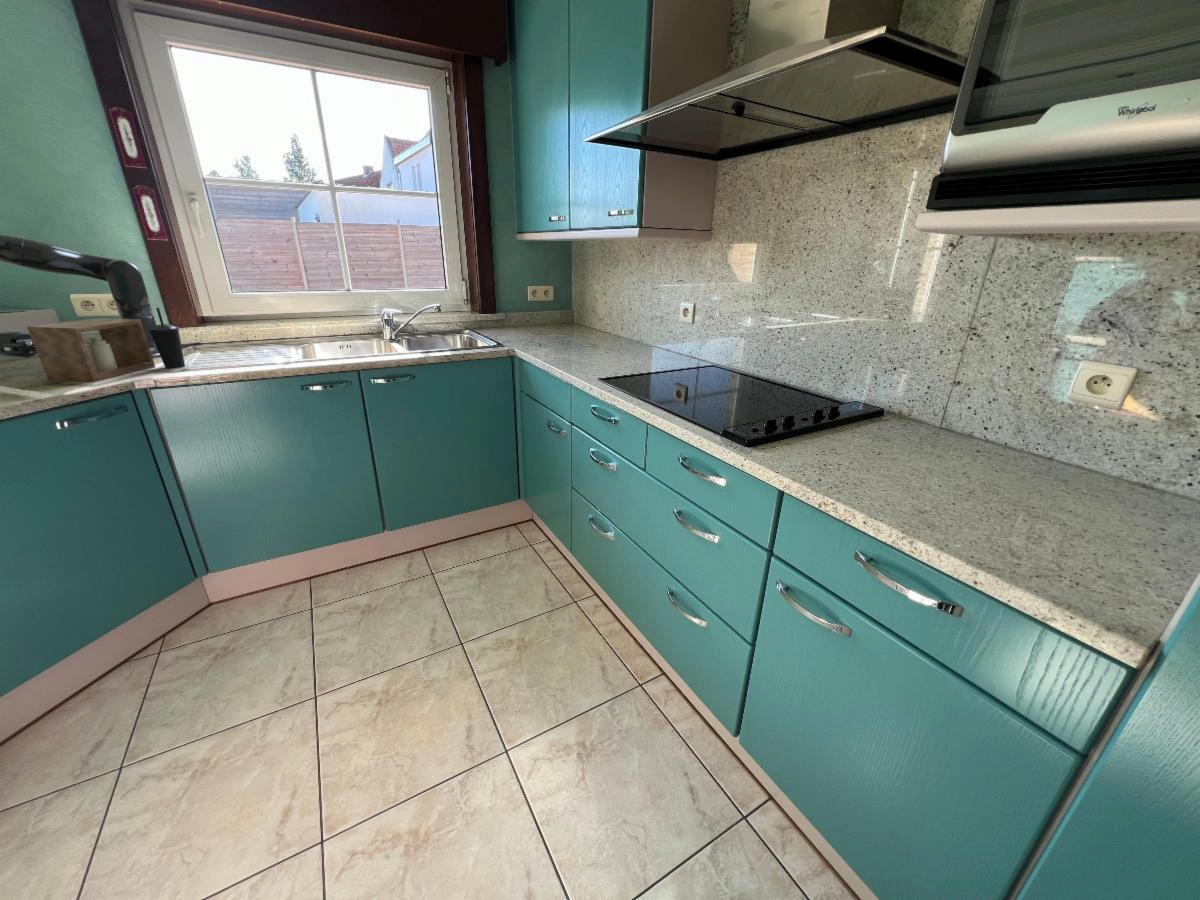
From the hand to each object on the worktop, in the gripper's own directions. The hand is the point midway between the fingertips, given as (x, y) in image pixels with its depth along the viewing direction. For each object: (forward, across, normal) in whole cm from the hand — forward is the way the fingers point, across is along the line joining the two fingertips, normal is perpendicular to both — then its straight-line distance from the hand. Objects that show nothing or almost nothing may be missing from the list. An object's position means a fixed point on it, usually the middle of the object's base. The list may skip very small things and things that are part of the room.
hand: (62, 346), depth 149 cm
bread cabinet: (+10, 0, +9) cm, 14 cm away
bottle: (+12, 0, +8) cm, 14 cm away
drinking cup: (+23, +12, +9) cm, 27 cm away
